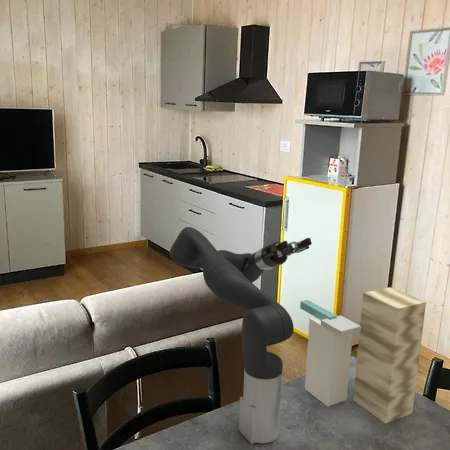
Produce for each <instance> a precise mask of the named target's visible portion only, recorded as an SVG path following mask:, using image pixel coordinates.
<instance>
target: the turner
mask: <svg viewBox="0 0 450 450" xmlns="http://www.w3.org/2000/svg"><path fill="white" fill-rule="evenodd" d="M299 305H300V306H299V309H301V310H302V311H304V312H306V313H308V314H309V315H311V316H313V317H316V318H318V319H320V320H321V326H323V327H325V328H327V329H328V330H330V331H332V332H333V333H335V334H337V335H338V336H340V337H342V336H346V335H349V334H357V333H360V332H361V326H360V324H357V323H356V322H353V321H352V320H350V319H348V318H347V317H344V316H342V315H336V314H334V313H333V312H331V311H329V310H328V309H325V308H324V307H322V306H320V305H318V304H316V303H314V302H313V301H310V300H309V299H305V300H301V301H300V304H299Z"/></svg>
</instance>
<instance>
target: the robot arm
mask: <svg viewBox="0 0 450 450" xmlns="http://www.w3.org/2000/svg"><path fill="white" fill-rule="evenodd" d="M312 244H313V242H312V239H311V237H307V238H304V239H303V240H299V241H291V242H288V241H287V240H284V241H281V242H280V241H273V242H270V243H269V244H266V245H265V246H263V247H261V248H259V250H257V251H255V252H253V253H250V252H248V253H247V252H246V253H235V252H232V251H229V250H225V249H220V250H218V249H217V248H216V247H215V246H214V245H213V244H212V243H211V241H209V239H208V238H207V237H206V236H205V234H203V233H202V232H200V231H199V230H198V229H196V228H194V227H191V226H185V227H184V228H182V230H181V231H180V232H179V234H178V236H177V237H176V238H175V240H174V241H173V243H172V245H171V246H170V249H169V252H168V253H169V256H170V258H171V259H172V260H173V261H174V262H175V263H177V264H179V265H181V266H183V267H186V268H191V269H201V270H202V275H203V279H204V283H205V285H206V287H207V288H208V289H209V290H210V291H211V293H213V294H214V296H215V297H216V298H218V299H219V300H220V301H222V302H223V303H226V304H227V305H231V306H233V307H236V308H239V309H240V310H244V311H245V313H244V315H243V317H242V321H241V334H242V335H241V336H242V339H241V340H242V341H241V342H242V346H241V347H242V359H243V364H244V367H243V368H244V371H243V373H244V374H243V375H244V376H243V378H244V379H243V393H242V394H243V396H240V397H239V414H238V415H239V418H238V431H239V432H240V433H241V434H242V436H243V437H244V438H245V439H246V440H247V441H248V442H249V443H250V444H251V445H254V444H269V443H273V442H274V441H276V440H277V439H278V437H279V436H280V435H279V434H280V423H281V422H280V420H281V402H282V399H281V398H282V383H283V367H284V366H283V365H284V364H283V360H282V357H280V356H279V355H278V354H276V353H274V352H272V351H268V349H267V348H268V347H270V346H274V345H277V344H281V343H283V342H286V341H287V340H289V339H290V338H291V337H292V336H293V334H294V330H295V329H294V323H293V319H292V316H291V315H290V314H289V311H287V310H286V308H285V307H284V306H283V305H281V304H280V302H278V301H276V300H275V299H273V298H272V297H271V296H269V295H267V294H266V293H265V292H264V291H262V290H261V289H259V287H257V285H255V284H254V282H257V280H258V279H259V278H260V277H261V276H262V275H263V273H264V272H266V271H269V270H272V269H274V268H277V267H278V266H281V265H283V264H284V263H286V261H287V260H288V257H290V256H291V255H294V254H300V253H301V252H304V251H305V250H308V249H310V246H311V245H312ZM293 245H294V247H293Z"/></svg>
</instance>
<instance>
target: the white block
mask: <svg viewBox="0 0 450 450" xmlns="http://www.w3.org/2000/svg"><path fill="white" fill-rule="evenodd" d="M308 320H309V321H308V334H307V335H308V336H307V348H306V349H307V352H306V366H305V378H304V379H305V382H304V389H305V390H306V391H307V392H309V393H310V394H311V395H312V396H313V397H315V398H316V399H317V400H318V401H320V402H321V403H322V404H323V405H325V406H326V407H330V406H333V405H337V404H339V403H342V402H344V401H347V400H348V391H349V381H350V380H349V378H350V368H351V357H352V345H353V334H354V333H353V334H349V335H346V336H342V337H340V336H338V335H337V334H335V333H333V332H332V331H330V330H328V329H327V328H325V327H323V326H321V320H320V319H318V318H316V317H315V316H313V317H311V318H308Z"/></svg>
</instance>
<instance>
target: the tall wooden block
mask: <svg viewBox="0 0 450 450" xmlns="http://www.w3.org/2000/svg"><path fill="white" fill-rule="evenodd" d="M426 306H427V302H426V301H424V300H422V299H420V298H417V297H415V296H412V295H410V294H408V293H405V292H402V291H400V290H398V289H395V288H392V287H390V286H389V287H384V288H381V289H376V290H371V291H366V292H363V293H362V302H361V313H360V323H359V325H360V326H361V332H358V333H359V336H358V345H357V356H356V368H355V379H354V380H355V381H354V389H353V401H354V402H355V403H356V404H357V405H359V406H360V407H362V408H363V409H364V410H366V411H368V412H369V413H370V414H372V415H373V416H374V417H376V418H377V419H379V420H380V421H381V422H382V423H384V424H385V425H387V424H389V423H392V422H394V421H397V420H399V419H402V418H404V417H406V416H409V415H412V414H413V412H414V403H415V396H416V390H417V389H416V387H417V380H418V372H419V363H420V354H421V348H422V347H421V346H422V340H423V339H422V338H423V330H424V323H425V314H426Z"/></svg>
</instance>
